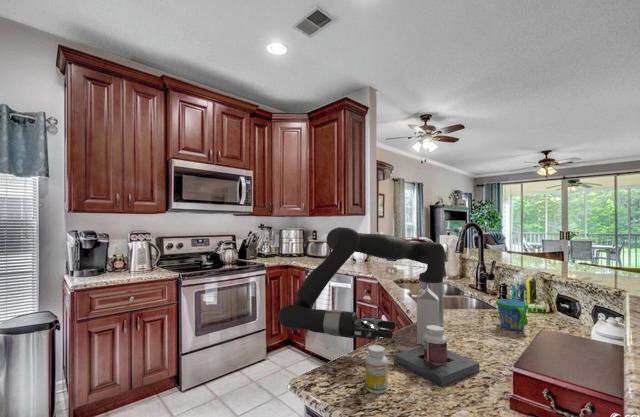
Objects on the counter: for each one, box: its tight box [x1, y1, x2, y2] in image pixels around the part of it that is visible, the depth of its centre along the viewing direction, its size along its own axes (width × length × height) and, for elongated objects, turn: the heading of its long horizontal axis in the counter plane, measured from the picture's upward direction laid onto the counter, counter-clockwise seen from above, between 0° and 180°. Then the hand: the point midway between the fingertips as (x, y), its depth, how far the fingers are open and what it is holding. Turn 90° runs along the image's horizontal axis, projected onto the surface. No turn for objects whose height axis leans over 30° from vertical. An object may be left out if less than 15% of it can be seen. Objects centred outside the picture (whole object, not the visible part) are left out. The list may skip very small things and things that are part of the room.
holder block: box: [393, 345, 480, 388], centre depth 87 cm, size 16×16×2 cm
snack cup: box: [495, 298, 529, 332], centre depth 122 cm, size 16×10×10 cm
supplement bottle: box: [364, 344, 389, 395], centre depth 76 cm, size 5×5×10 cm
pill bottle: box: [423, 325, 448, 366], centre depth 88 cm, size 6×6×11 cm
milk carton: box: [416, 285, 439, 346], centre depth 107 cm, size 7×7×19 cm
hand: (393, 329), depth 91 cm, fingers open, 8 cm apart
